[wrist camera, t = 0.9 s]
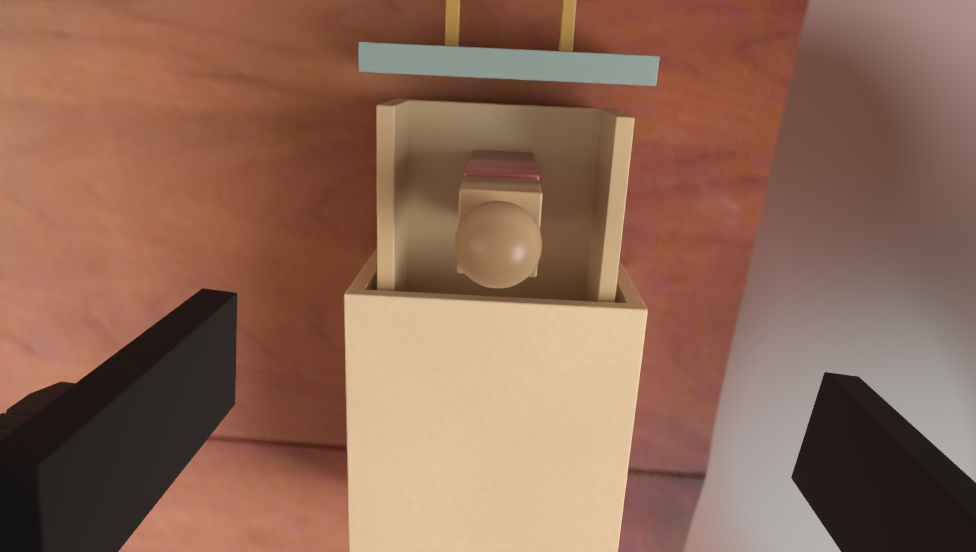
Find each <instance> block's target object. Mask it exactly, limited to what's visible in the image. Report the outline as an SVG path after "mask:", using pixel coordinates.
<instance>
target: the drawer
mask: <svg viewBox="0 0 976 552" xmlns="http://www.w3.org/2000/svg"><path fill="white" fill-rule="evenodd" d="M576 2H577V0H562V4H561V18H560V31H559V45H558V51H545V50H524V49H503V48H482V47H460V46H459V26H460V0H445V41H444V45H445V46H439V45H418V44H397V43H376V42H358V71H359V72H367V73H388V74H409V75H430V76H451V77H472V78H493V79H514V80H535V81H556V82H577V83H598V84H619V85H640V86H656V83H657V75H658V66H659V56H651V55H630V54H609V53H588V52H572V51H573V40H574V27H575V14H576ZM634 121H635V118H634V117H632V116H630V115H628V114H625V113H623V112H621V111H619V110H616V109H607V108H586V107H565V106H544V105H523V104H503V103H482V102H461V101H440V100H420V99H399V98H397V99H394V100H391V101H388V102H385V103H382V104H379V105H377V106H376V161H377V290H381V291H400V292H420V293H439V294H458V295H478V296H497V297H516V298H535V299H555V300H574V301H593V302H613V303H615V296H616V287H617V277H618V268H619V259H620V250H621V241H622V231H623V222H624V213H625V204H626V194H627V185H628V176H629V167H630V158H631V148H632V139H633V130H634ZM473 150H489V151H509V152H529V153H533V155H534V159H535V163H536V166H537V170H538V174H539V183H540V186H541V190H542V194H543V197H542V212H541V226H540V233H541V238H542V251H541V256H540V259H539V262H538V268H537V276H536V277H527V278H526V279H525V280H523V281H522V282H520V283H518V284H516V285H514V286H511V287H507V288H490V287H485V286H483V285H480V284H478V283H476V282H475V281H473V280H472V279H470V278H469V277H468V276H467V275H466V274H463V273H457V258H456V254H455V236H456V231H457V229H458V211H459V190H460V187H461V184H462V182H463V179H464V173H465V170H466V167H467V165H468V162H469V160H470V157H471V155H472V152H473Z"/></svg>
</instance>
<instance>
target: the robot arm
mask: <svg viewBox="0 0 976 552" xmlns="http://www.w3.org/2000/svg"><path fill="white" fill-rule="evenodd" d="M236 327H237V293H233V292H225V291H218V290H210V289H203V288H202V289H201V290H200V291H198V292H197V293H196V294H194V295H193V296H192V297H190V298H189V299H188V300H186V301H185V302H184V303H182V304H181V305H180V306H178V307H177V308H176V309H174V310H173V311H172V312H170V313H169V314H168V315H166V316H165V317H164V318H162V319H161V320H160V321H158V322H157V323H156V324H154V325H153V326H152V327H150V328H149V329H148V330H146V331H145V332H144V333H142V334H141V335H140V336H138V337H137V338H136V339H134V340H133V341H132V342H130V343H129V344H128V345H126V346H125V347H124V348H122V349H121V350H120V351H118V352H117V353H116V354H114V355H113V356H112V357H110V358H109V359H108V360H106V361H105V362H104V363H102V364H101V365H100V366H98V367H97V368H96V369H94V370H93V371H92V372H90V373H89V374H88V375H86V376H85V377H84V378H82V379H81V380H80V381H78V382H77V383H76V384H75V383H68V382H59V383H56V384H54V385H51V386H49V387H46V388H44V389H41V390H38V391H36V392H33V393H31V394H29V395H27V396H26V397H25V398H23V399H22V400H20V401H19V402H17V403H16V404H15V405H13V406H12V407H10V408H9V409H7V412H6V414H4V413H2V414H0V552H118V551H119V550H120V549H121V547H122V546H123V545H124V544H125V542H126V541H127V540H128V538H129V537H130V536H131V535H132V533H133V532H134V531H135V530H136V528H137V527H138V526H139V525H140V523H141V522H142V521H143V520H144V518H145V517H146V516H147V514H148V513H149V512H150V511H151V509H152V508H153V507H154V506H155V504H156V503H157V502H158V501H159V499H160V498H161V497H162V496H163V494H164V493H165V492H166V491H167V489H168V488H169V487H170V485H171V484H172V483H173V482H174V480H175V479H176V478H177V477H178V475H179V474H180V473H181V472H182V470H183V469H184V468H185V467H186V465H187V464H188V463H189V461H190V460H191V459H192V458H193V456H194V455H195V454H196V453H197V451H198V450H199V449H200V448H201V446H202V445H203V444H204V443H205V441H206V440H207V439H208V438H209V436H210V435H211V434H212V432H213V431H214V430H215V429H216V427H217V426H218V425H219V424H220V422H221V421H222V420H223V419H224V417H225V416H226V415H227V414H228V412H229V411H230V410H231V408H232V407H233V406H234V405H235V378H236ZM791 478H792V479H793V481H794V482H795V484H796V485H797V487H798V488H799V490H800V491H801V493H802V494H803V496H804V497H805V499H806V500H807V502H808V503H809V504H810V506H811V508H812V509H813V511H814V512H815V513H816V515H817V516H818V518H819V519H820V521H821V522H822V524H823V525H824V527H825V528H826V530H827V531H828V533H829V534H830V536H831V537H832V538H833V540H834V541H835V543H836V544H837V546H838V547H839V549H840V550H841V552H976V483H975V482H974V481H973V480H972V479H971V478H970V477H969V476H967V475H966V474H965V473H964V472H963V471H962V470H961V469H960V468H959V467H958V466H956V465H955V464H954V463H953V462H952V461H951V460H950V459H949V458H948V457H947V456H945V455H944V454H943V453H942V452H941V451H940V450H939V449H938V448H937V447H935V446H934V445H933V444H932V443H931V442H930V441H929V440H928V439H927V438H926V437H924V436H923V435H922V434H921V433H920V432H919V431H918V430H917V429H916V428H914V427H913V426H912V425H911V424H910V423H909V422H908V421H907V420H906V419H905V418H904V417H902V416H901V415H900V414H899V413H898V412H897V411H896V410H895V409H894V408H892V407H891V406H890V405H889V404H888V403H887V402H886V401H885V400H884V399H883V398H881V397H880V396H879V395H878V394H877V393H876V392H875V391H874V390H873V389H871V388H870V387H869V386H868V385H867V384H866V383H865V382H864V381H863V380H861V379H860V378H859V377H857V376H849V375H841V374H834V373H827V372H825V373H824V376H823V379H822V383H821V386H820V389H819V392H818V395H817V398H816V401H815V404H814V408H813V411H812V414H811V417H810V421H809V423H808V427H807V430H806V433H805V436H804V439H803V442H802V446H801V449H800V452H799V455H798V458H797V461H796V465H795V468H794V471H793V474H792V477H791Z"/></svg>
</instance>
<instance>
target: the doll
mask: <svg viewBox="0 0 976 552" xmlns="http://www.w3.org/2000/svg"><path fill="white" fill-rule="evenodd" d="M542 197H543V194H542V190H541V186H540V183H539V174H538V170H537V166H536V163H535V159H534V155H533V153H529V152H509V151H489V150H473V152H472V155H471V157H470V160H469V162H468V165H467V167H466V170H465V173H464V179H463V182H462V184H461V187H460V190H459V211H458V229H457V231H456V236H455V254H456V258H457V273H463V274H466V275H467V276H468V277H469V278H470V279H472V280H473V281H475V282H476V283H478V284H480V285H483V286H485V287H490V288H507V287H511V286H514V285H516V284H518V283H520V282H522V281H523V280H525V279H526V278H527V277H536V276H537V268H538V262H539V259H540V256H541V251H542V238H541V233H540V226H541V212H542Z"/></svg>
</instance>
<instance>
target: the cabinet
mask: <svg viewBox="0 0 976 552" xmlns="http://www.w3.org/2000/svg"><path fill="white" fill-rule="evenodd" d="M647 313H648V310H647V308H646V306H645V305H644V302H643V300H642V299H641V297H640V295H639V293H638V292H637V290H636V288H635V286H634V284H633V283H632V281H631V279H630V277H629V276H628V274H627V272H626V270H625V268H624V267H623V265H622V263H621V262H619V268H618V277H617V287H616V296H615V303H613V302H593V301H574V300H555V299H535V298H516V297H497V296H478V295H458V294H439V293H420V292H400V291H381V290H377V249H376V250H375V251H374V252H373V254H372V255H371V256H370V258H369V259H368V261H367V262H366V264H365V265H364V266H363V268H362V269H361V271H360V272H359V273H358V275H357V276H356V278H355V279H354V281H353V282H352V283H351V285H350V286H349V288H348V289H347V291H346V292H345V294H344V328H345V376H346V424H347V472H348V520H349V552H618V545H619V537H620V529H621V521H622V513H623V505H624V497H625V489H626V481H627V473H628V465H629V457H630V449H631V441H632V433H633V425H634V417H635V409H636V401H637V393H638V385H639V377H640V369H641V361H642V353H643V345H644V337H645V329H646V321H647Z"/></svg>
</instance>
